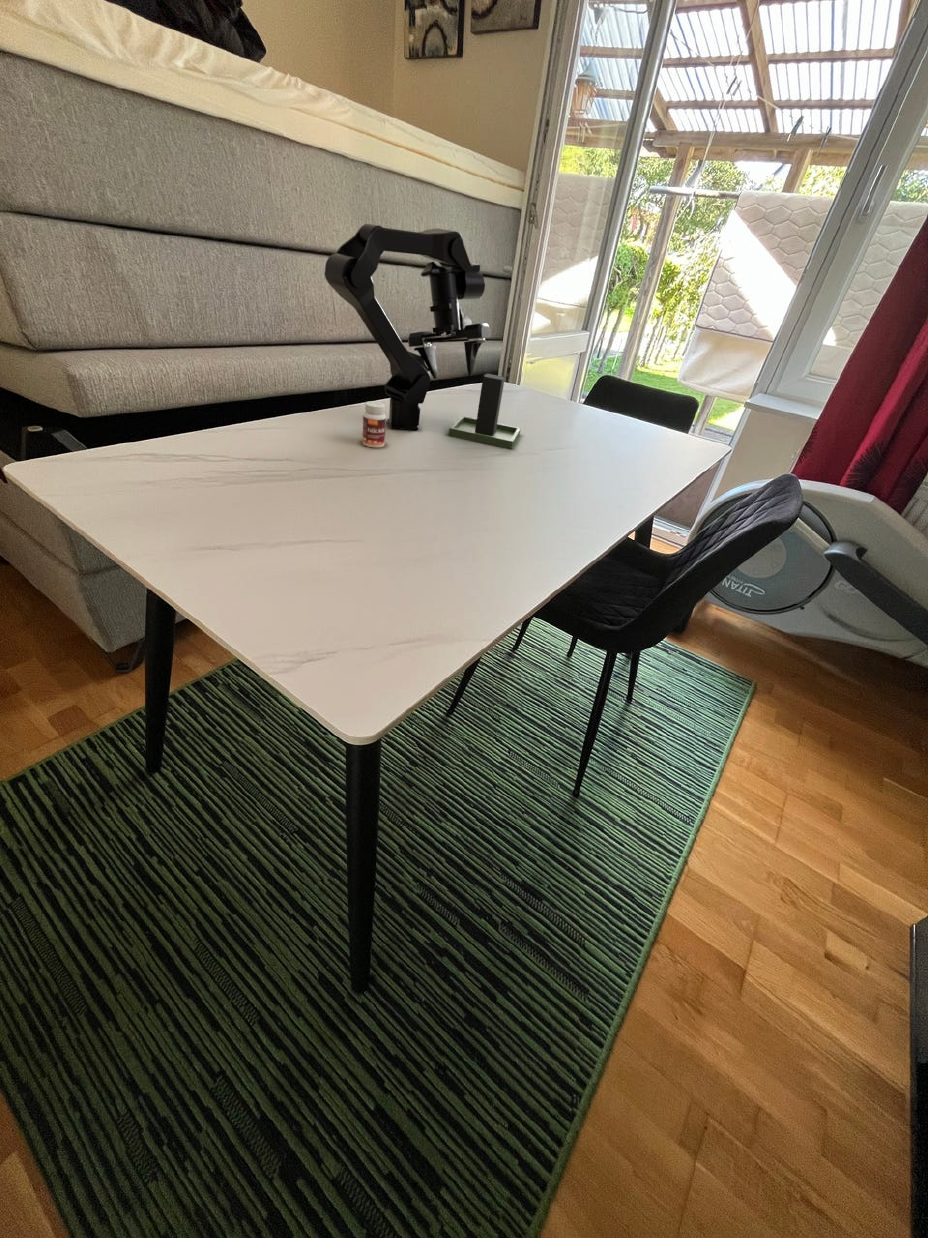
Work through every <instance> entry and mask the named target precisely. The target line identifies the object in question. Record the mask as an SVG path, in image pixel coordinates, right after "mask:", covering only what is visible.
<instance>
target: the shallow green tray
mask: <svg viewBox="0 0 928 1238" xmlns="http://www.w3.org/2000/svg"><path fill="white" fill-rule="evenodd" d="M476 421H477V418H474V417H470V416H465V415H461V416H460V417H459V418H458V419H457V420H456V421H455V422H454V423H453V424H452V425H451V426H450V427H449V428H448V436H449V437H454V438H457V439H463V440H468V441H471V442H477V443H480V444H486V445H490V446H495V447H500V448H503V449H508V450H513V447H514V446H515V444H516V442H517V440H518V439H519V437H520V435H521V431H522V428H521V427H517V426H513V425H509V424H503V423H498V422H497V427H496V433H495V434H494V435H493V436H488V435H484V434H479V433H475V428H476Z"/></svg>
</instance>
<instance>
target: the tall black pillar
mask: <svg viewBox="0 0 928 1238" xmlns="http://www.w3.org/2000/svg"><path fill="white" fill-rule="evenodd" d="M505 379H506V377H505V376H502V375H498V374H493V373H492V374H491V373H485V374H484V375H482V380H481V381H482V382H481V387H480V395H479V401H478V409H477V416H476V419H477V421H476V428H475V433H479V434H484V435H488V436H493V435H494V434H495V433H496V427H497V423H498V421H499V415H500V409H501V403H502V398H503V397H502V396H503V391H504V385H505V381H506V380H505Z"/></svg>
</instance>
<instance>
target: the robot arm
mask: <svg viewBox="0 0 928 1238" xmlns="http://www.w3.org/2000/svg"><path fill="white" fill-rule="evenodd" d="M384 252H391V253H400V254H401V253H402V254H409V255H419V256H421V257H423V258H425V259H428V260H430V262H427V263H426V265H425V267H424V268H423V270H422V271H421V273H420V275H421V277H423V278H426V277H427V278H429V284H430V293H431V303H432V306H431V305H430V306H429V310H430V311H429V312H430V313H433V321H434V327H432V331H430V330H429V331H417V332H410V333H409V335H408V337H407V343H408V348H412V347H413V351H417V352H418V354H417V353H413V352H411V351H408V350H407V348H406V346H405V345H404V342H403V341H402V339H401V338H400V336H399V335H398V332H397V331H396V329H395V328H394V326H393V325H392V323H391V321H390V319H389V318H388V316H387V315H386V313H385V311H384V310H383V308H382V306H381V305H380V303H379V301H378V299H377V297H376V293H375V283H374V281H373V277H372V276H373V275H374V274H375V272H376V271H377V269H378V266H379V262H380V259H381V255H382V254H384ZM436 262H437V263H438V264H439V265H440V266H439V265H438V264H436ZM324 278H325V280H326V282H327V283H328V284H329V286H330V287H331V288H332V289H333V290H334V291H335V292H336V294H338V295H339V296H340V297H341V298H342V299H343V300H344V301H346V302H347V303H348V304H349V305H350V306H351V307H353V308H354V310H355V311H356V313H357V314H358V316H359V317H360V318H361V321H362V322H363V323H364V325H365V326H366V329H367V330H368V331H369V333H370V334H371V336H372V338H373V339H374V340H375V342H376V344H377V346H378V347H379V348H380V350H381V351H382V353H383V354H384V356H385V357H386V359H387V361H388V363H389V368H390V374H391V377H390V378H389V379H388V380H387V382H386V383H385V384H384V386H383V389H384V392H385V395H386V396H389V411H388V412H389V413H388V414H389V415H388V418H387V419H386V422H387V423H388V425H389V426H390V429H392V430H405V431H406V430H408V431H419V427H418V426H419V425H420V419H421V418H420V417H421V408H420V406H419V405H420V404H423V403H424V402H425V400H426V399H425V398H426V396H427V394H428V390H429V387H430V383H431V380H432V378H433V380H437V379H438V368H437V367H438V366H437V362H436V361H437V360H436V354H435V353H436V350H437V349H436V348H437V346H436V345H433V344H434V343H436V342H443V341H451V340H460V339H467V340H468V341H463V346H464V353H465V354H464V355H465V363H466V370H467V374H468V376H469V377H470V376H473V372H474V369H475V363H476V360H477V355H478V352H479V349H480V348H481V346H482V344H483V343H486V341H487V340H486V339H487V338H491V337H492V332H491V327H490V325H489V324H488V323H474V324H472V320H471V319H470V318H469V317H468V316H467V315H466V314H464V313H463V308H462V307H463V306H462V304H461V303H459V300H460V301H461V300H478V299H480V298H481V297H482V296H483V295H484V292H485V288H486V283H485V278H484V275H483V273H482V272H481V265H480V264H478V263H471V261H470V258H469V256H468V252H467V250H466V247H465V244H464V239H463V237H462V234H461V233H460V232H458V231H455V230H449V229H444V228H443V229H442V228H429V229H424V230H422V231H411V230H410V231H409V230H405V229H397V228H390V227H383V226H381V225H378V224H373V223H364V224H363V225H361V226H360V228H359V229H358V230H357V232H356V233H355V234H354V235H353V236H351V238H349V239H348V240H347V241H345V242H344V243H343V244H341V246H340V247H338V249H337V251H335V253H332V254H331V255H330V256H328V258H327V259H326V262H325V265H324ZM432 345H433V346H432ZM431 377H432V378H431ZM405 391H406V392H405Z"/></svg>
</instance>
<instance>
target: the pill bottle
mask: <svg viewBox="0 0 928 1238" xmlns="http://www.w3.org/2000/svg"><path fill="white" fill-rule="evenodd" d="M385 407H386V406H385V404H384V403H383V402H379V401H373V400H372V401H371V400H370V401H369V400H368V401H366V402H365V403H364V412H363V414H362V444H363V445H364V446H365V447H369V448H375V449H376V448H377V449H378V448H382V447H384V446H385V444H386V443H385V439H386V422H387V416H386V414H385V410H386V409H385Z"/></svg>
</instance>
